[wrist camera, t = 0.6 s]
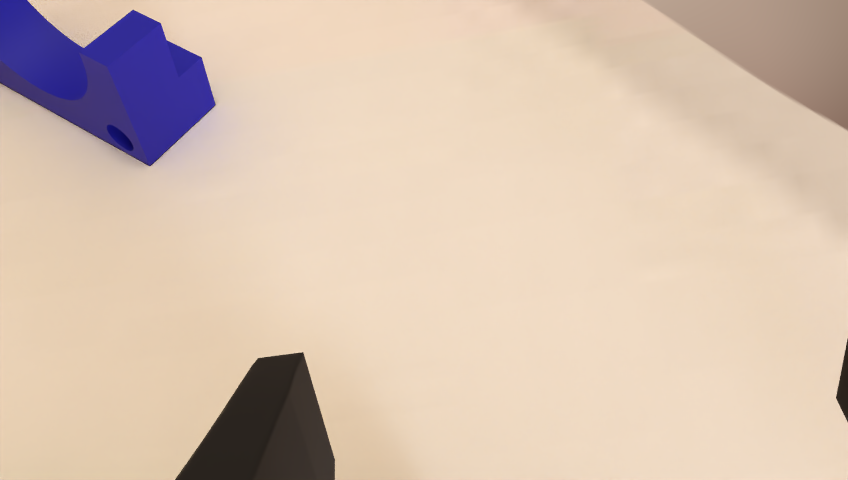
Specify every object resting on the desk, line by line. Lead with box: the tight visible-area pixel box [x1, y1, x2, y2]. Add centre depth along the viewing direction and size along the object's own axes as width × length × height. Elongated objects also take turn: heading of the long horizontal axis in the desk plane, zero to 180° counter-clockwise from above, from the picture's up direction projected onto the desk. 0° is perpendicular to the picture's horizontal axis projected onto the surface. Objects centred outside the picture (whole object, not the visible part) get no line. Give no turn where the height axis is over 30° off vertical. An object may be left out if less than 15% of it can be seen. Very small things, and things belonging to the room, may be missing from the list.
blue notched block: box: [0, 0, 215, 166], centre depth 35 cm, size 12×4×6 cm, turn 58°
